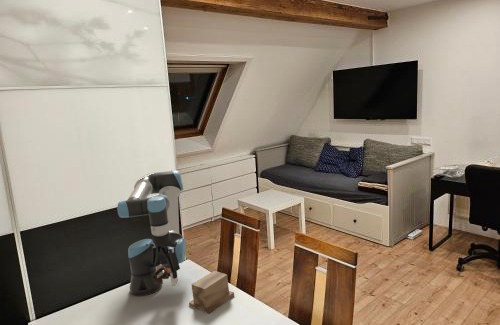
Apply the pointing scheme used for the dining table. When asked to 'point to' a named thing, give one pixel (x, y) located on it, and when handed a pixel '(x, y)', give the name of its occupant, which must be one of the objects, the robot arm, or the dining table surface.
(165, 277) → the broken clay pot
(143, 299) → the dining table surface
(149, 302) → the dining table surface
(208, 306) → the stand
